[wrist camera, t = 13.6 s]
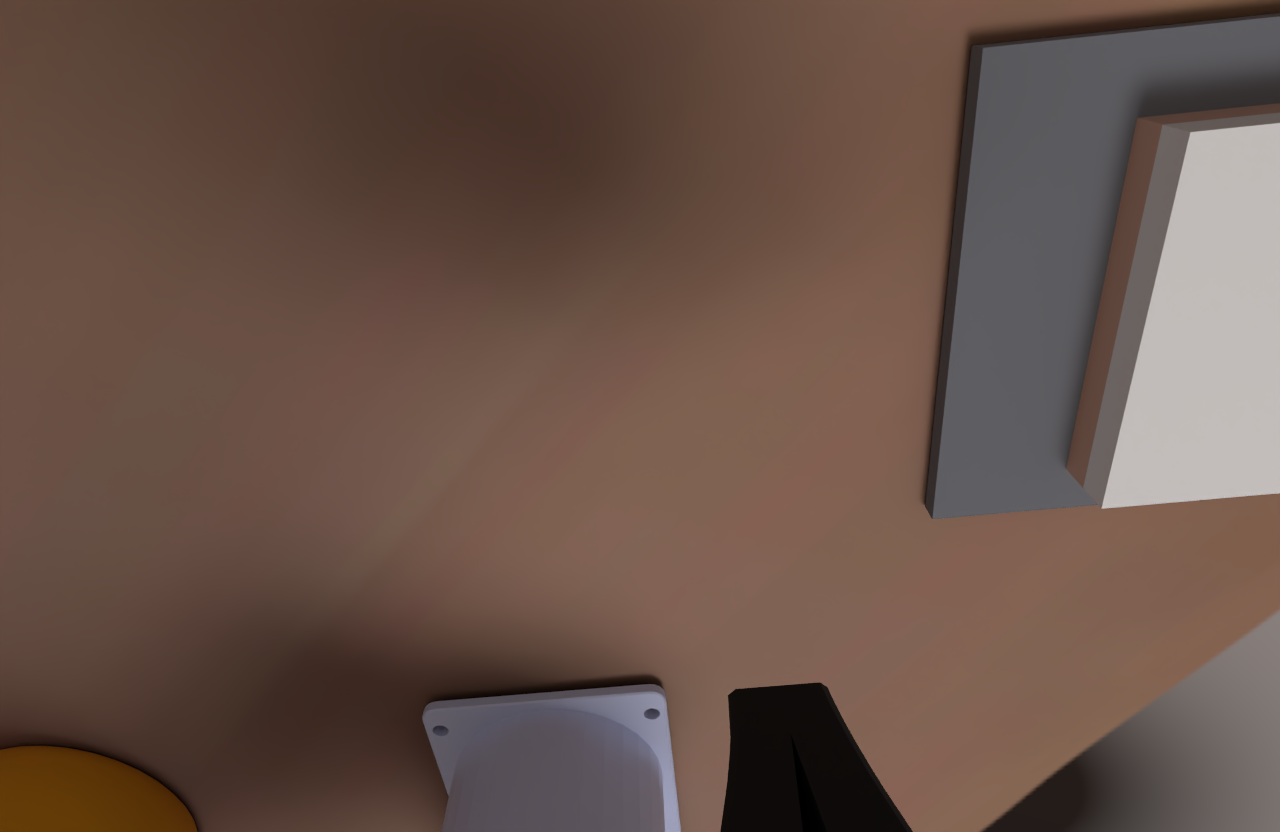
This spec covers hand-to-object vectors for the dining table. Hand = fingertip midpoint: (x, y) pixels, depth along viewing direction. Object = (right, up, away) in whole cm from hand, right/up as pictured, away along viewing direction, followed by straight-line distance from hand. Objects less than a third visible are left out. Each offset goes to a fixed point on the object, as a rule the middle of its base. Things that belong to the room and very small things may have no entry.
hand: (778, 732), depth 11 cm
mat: (+11, +8, +8) cm, 15 cm away
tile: (+9, +7, +7) cm, 13 cm away
